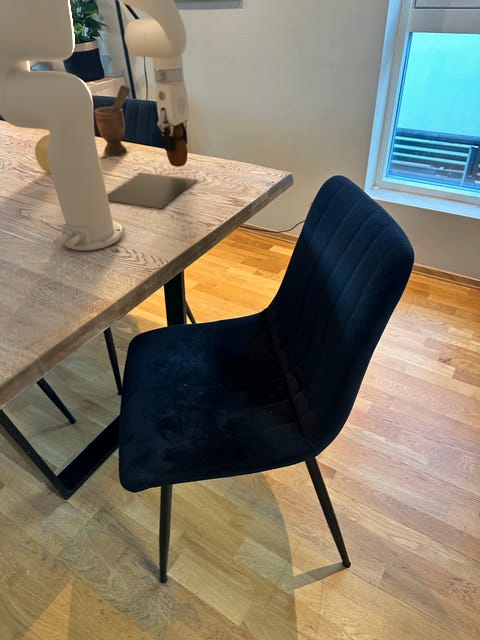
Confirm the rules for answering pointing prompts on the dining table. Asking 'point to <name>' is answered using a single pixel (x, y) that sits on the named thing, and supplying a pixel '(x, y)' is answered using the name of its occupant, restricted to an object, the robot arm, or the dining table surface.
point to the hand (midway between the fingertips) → (176, 146)
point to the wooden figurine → (178, 148)
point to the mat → (150, 191)
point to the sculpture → (42, 153)
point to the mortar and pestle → (113, 124)
